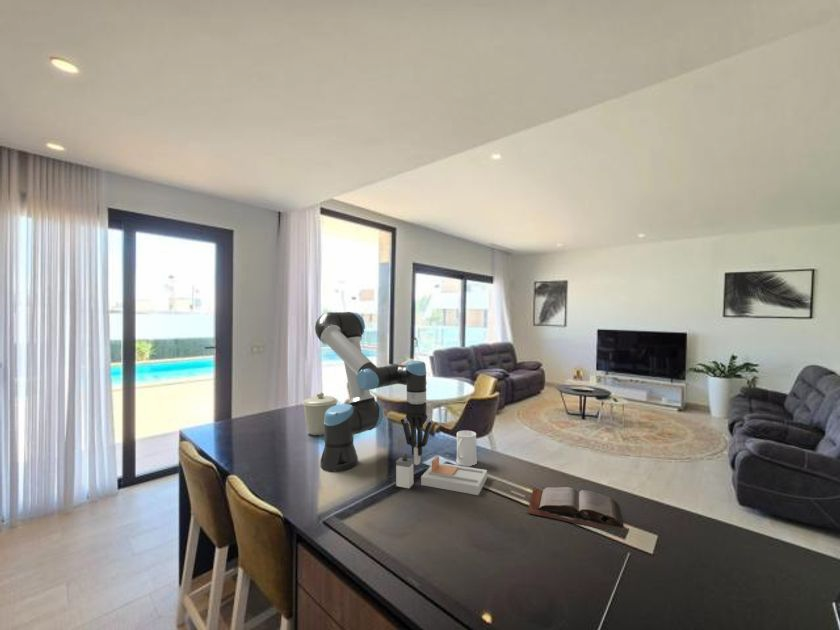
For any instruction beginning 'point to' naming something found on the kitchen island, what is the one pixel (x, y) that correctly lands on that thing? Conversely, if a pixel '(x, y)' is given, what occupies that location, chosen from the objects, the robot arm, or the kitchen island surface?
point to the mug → (466, 448)
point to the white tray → (456, 479)
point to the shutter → (442, 468)
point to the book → (575, 506)
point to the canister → (317, 412)
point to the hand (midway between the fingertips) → (417, 463)
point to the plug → (404, 472)
